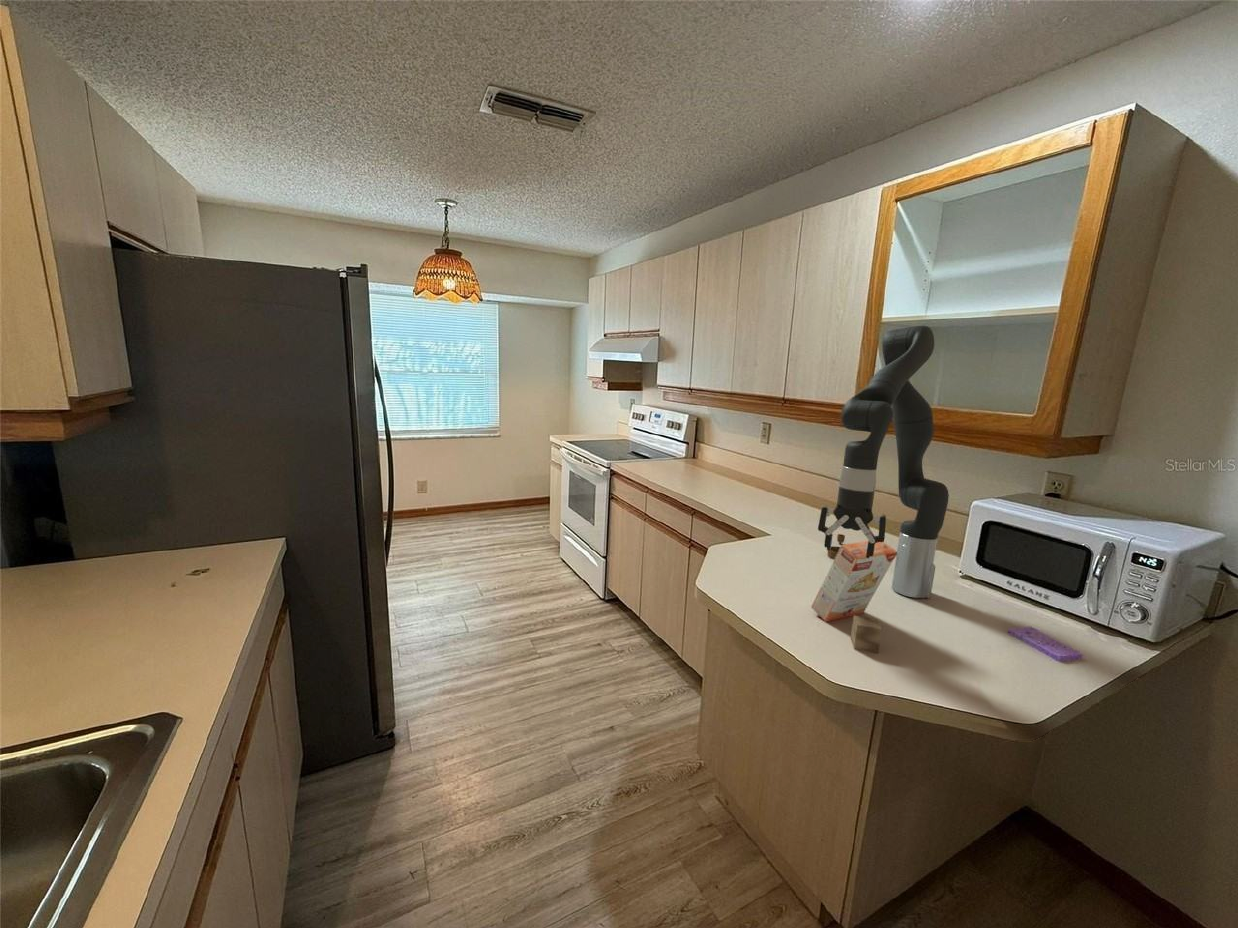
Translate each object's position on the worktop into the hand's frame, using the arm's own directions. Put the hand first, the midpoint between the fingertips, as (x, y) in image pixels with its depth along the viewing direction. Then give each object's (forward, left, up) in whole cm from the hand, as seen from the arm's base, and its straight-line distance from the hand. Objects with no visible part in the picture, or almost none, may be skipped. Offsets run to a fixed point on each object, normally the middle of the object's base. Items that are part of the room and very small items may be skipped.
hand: (847, 553), depth 119 cm
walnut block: (-5, +6, -20) cm, 21 cm away
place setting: (-9, -54, -21) cm, 59 cm away
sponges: (-47, -10, -21) cm, 52 cm away
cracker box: (-1, -9, -19) cm, 21 cm away
